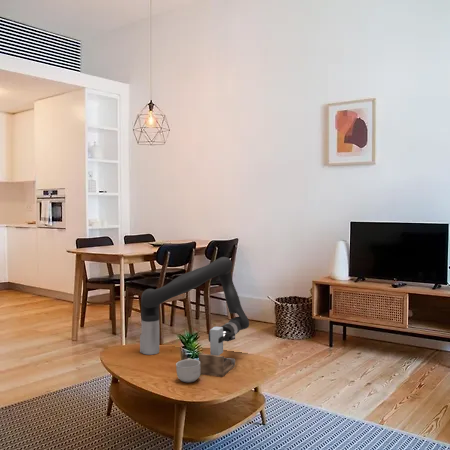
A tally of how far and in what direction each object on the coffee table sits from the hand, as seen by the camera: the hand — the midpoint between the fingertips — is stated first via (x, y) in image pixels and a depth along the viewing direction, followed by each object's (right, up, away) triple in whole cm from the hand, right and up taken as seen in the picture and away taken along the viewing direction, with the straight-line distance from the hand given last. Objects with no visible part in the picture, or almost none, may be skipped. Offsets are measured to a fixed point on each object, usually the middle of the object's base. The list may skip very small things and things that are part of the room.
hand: (214, 340), depth 227 cm
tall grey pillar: (+1, -7, +3) cm, 8 cm away
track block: (+1, -15, +4) cm, 15 cm away
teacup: (-11, -15, -8) cm, 21 cm away
